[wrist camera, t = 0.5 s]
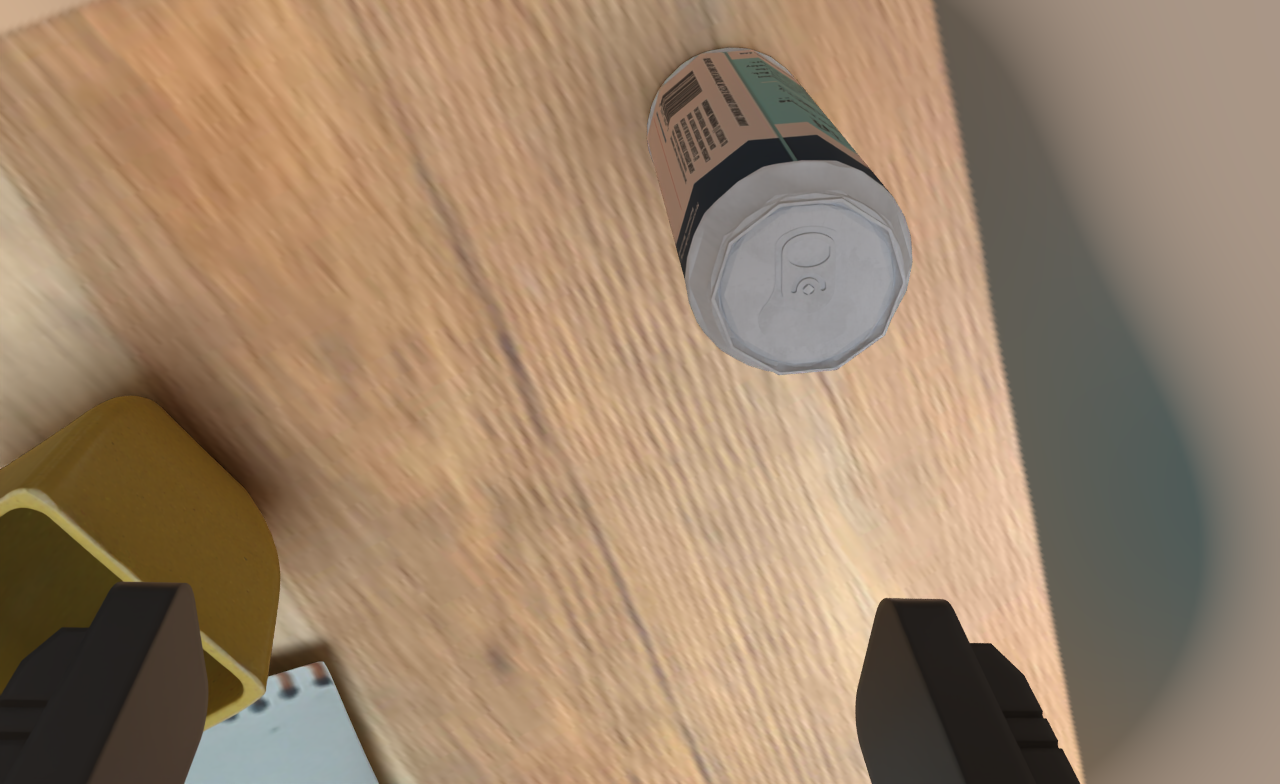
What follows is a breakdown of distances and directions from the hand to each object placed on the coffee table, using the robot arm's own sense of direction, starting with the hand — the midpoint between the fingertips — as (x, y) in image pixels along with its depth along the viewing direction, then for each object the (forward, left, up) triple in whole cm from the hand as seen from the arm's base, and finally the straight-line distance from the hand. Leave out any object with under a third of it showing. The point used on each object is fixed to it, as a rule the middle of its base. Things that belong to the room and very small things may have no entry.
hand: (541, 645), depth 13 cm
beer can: (-4, +4, -22) cm, 23 cm away
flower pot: (+18, -2, -22) cm, 29 cm away
